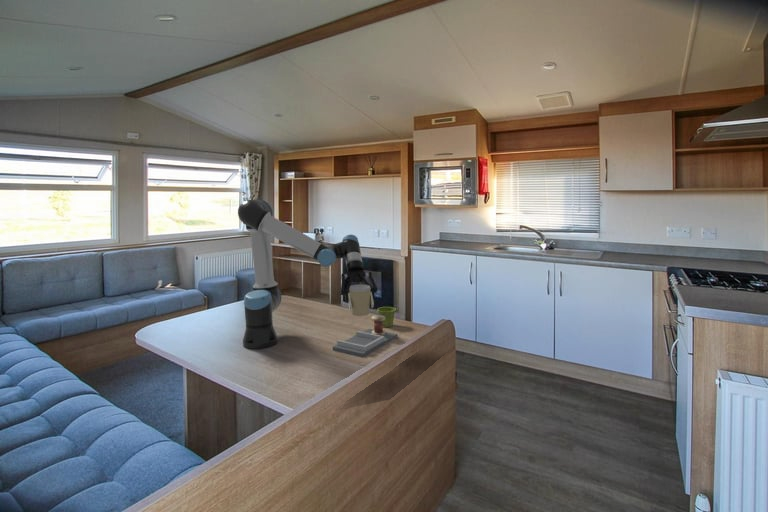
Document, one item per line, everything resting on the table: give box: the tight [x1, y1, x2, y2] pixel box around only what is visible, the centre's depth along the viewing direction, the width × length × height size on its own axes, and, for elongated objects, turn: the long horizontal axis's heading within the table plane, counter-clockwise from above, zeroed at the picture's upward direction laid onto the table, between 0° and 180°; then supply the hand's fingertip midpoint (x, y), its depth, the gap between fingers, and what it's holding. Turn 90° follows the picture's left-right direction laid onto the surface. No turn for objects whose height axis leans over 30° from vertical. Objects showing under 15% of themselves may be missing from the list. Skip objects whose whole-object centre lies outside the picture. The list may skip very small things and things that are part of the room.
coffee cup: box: [349, 283, 371, 317], centre depth 178 cm, size 9×9×12 cm
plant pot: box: [376, 306, 397, 328], centre depth 209 cm, size 9×9×9 cm
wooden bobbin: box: [371, 314, 386, 336], centre depth 192 cm, size 6×6×8 cm
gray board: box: [332, 328, 399, 358], centre depth 184 cm, size 28×16×4 cm, turn 147°
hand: (361, 306), depth 176 cm, fingers closed on coffee cup, 9 cm apart
